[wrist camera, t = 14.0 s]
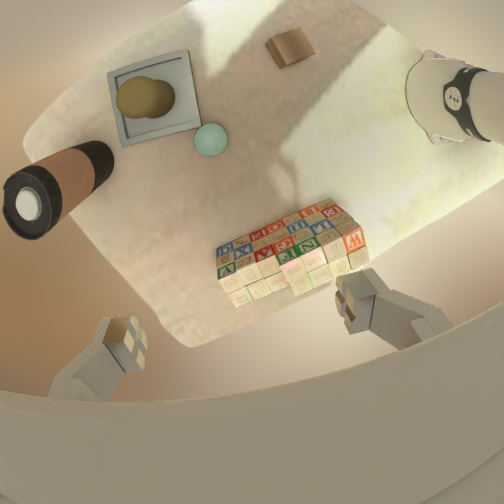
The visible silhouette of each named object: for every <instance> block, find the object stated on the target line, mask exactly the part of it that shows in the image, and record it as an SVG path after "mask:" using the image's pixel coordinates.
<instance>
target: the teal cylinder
mask: <svg viewBox="0 0 504 504" xmlns="http://www.w3.org/2000/svg"><path fill="white" fill-rule="evenodd" d="M194 145H195V148H196V150H197V151H198V152H199V153H200V154H202V155H204V156H208V157H212V156H216V155H218V154H220V153H222V152H223V150H224V149H225V148H226V145H227V135H226V132H225V130H224V129H223V128H222V127H221V126H220V125H218V124H216V123H207V124H205V125H203V126H202V127H201V128H200V129H199V130H198V131H197V132H196V134H195V136H194Z"/></svg>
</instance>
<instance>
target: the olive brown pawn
mask: <svg viewBox="0 0 504 504" xmlns="http://www.w3.org/2000/svg"><path fill="white" fill-rule="evenodd" d="M174 103H175V92H174V89H173V88H172V86H171V85H170V84H169V83H167V82H166V81H163V80H152V79H151V78H149V77H145V76H135V77H132V78H130V79H128V80H127V81H125V82H124V83H123V84H122V85H121V86H120V88H119V89H118V92H117V94H116V105H117V108H118V110H119V111H120V113H121V114H123V115H124V116H125V117H127V118H131V119H140V118H143V117H147V118H150V119H153V118H160V117H163V116H164V115H166V114H167V113H168V112H169V111H170V110H171V109H172V107H173V105H174Z"/></svg>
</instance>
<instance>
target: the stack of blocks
mask: <svg viewBox="0 0 504 504" xmlns="http://www.w3.org/2000/svg"><path fill="white" fill-rule="evenodd" d="M368 262H369V257H368V252H367V247H366V243H365V238H364V234H363V230H362V227H361V226H360V225H359V224H358V223H357V222H355V221H354V220H353V218H352V217H351V216H350V215H348V214H347V213H346V212H345V211H343V210H342V209H341V208H340V207H339V206H338V205H336V203H335V202H333V201H332V200H331V199H327V200H325V201H323V202H320V203H318V204H316V205H312V206H310V207H308V208H305V209H303V210H301V211H299V212H296V213H294V214H291V215H289V216H287V217H285V218H283V219H282V220H280V221H277V222H275V223H273V224H271V225H268V226H266V227H265V228H263V229H260V230H258V231H256V232H254V233H251V234H250V235H246V236H244V237H241V238H239V239H237V240H235V241H233V242H231V243H228V244H226V245H224V246H222V247H220V248H218V249H217V275H218V281H219V283H220V284H221V286H222V287H223V289H224V291H225V292H226V294H228V296H229V298H230V299H231V301H232V302H233V304H234V305H235V307H236V308H237V307H240V306H242V305H244V304H246V303H249V302H251V301H253V300H257V299H259V298H261V297H264V296H266V295H268V294H270V293H272V292H275V291H277V290H280V289H282V288H284V287H286V286H288V285H290V287H291V289H292V291H293V294H294V296H298V295H300V294H302V293H304V292H307V291H309V290H311V289H313V288H314V287H317V286H319V285H321V284H323V283H325V282H328V281H330V280H331V279H334V278H336V277H337V276H341V275H343V274H345V273H347V272H349V271H351V270H354V269H356V268H358V267H360V266H362V265H364V264H366V263H368Z"/></svg>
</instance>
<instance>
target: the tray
mask: <svg viewBox="0 0 504 504" xmlns="http://www.w3.org/2000/svg"><path fill="white" fill-rule="evenodd" d="M135 76H145V77H149V78H151V79H152V80H163V81H166V82H167V83H169V84H170V85H171V86H172V88H173V89H174V92H175V103H174V105H173V107H172V109H171V110H170V111H169V112H168V113H167V114H166V115H164V116H163V117H160V118H153V119H150V118H147V117H143V118H140V119H131V118H127V117H125V116H124V115H123V114H121V113H120V111H119V110H118V108H117V105H116V94H117V92H118V89H119V88H120V86H121V85H122V84H123V83H124V82H125V81H127V80H128V79H130V78H132V77H135ZM107 77H108V83H109V89H110V94H111V99H112V104H113V109H114V114H115V119H116V124H117V128H118V133H119V137H120V141H121V145H122V147H125V146H128V145H132V144H135V143H138V142H142V141H145V140H149V139H152V138H156V137H160V136H164V135H168V134H172V133H176V132H180V131H184V130H189V129H193V128H198V127H201V126H202V123H201V118H200V113H199V107H198V102H197V97H196V91H195V86H194V80H193V74H192V69H191V63H190V57H189V51H188V50H187V49H185V50H181V51H177V52H173V53H169V54H165V55H161V56H157V57H154V58H150V59H147V60H144V61H140V62H137V63H134V64H131V65H128V66H125V67H122V68H120V69H117V70H114V71H111V72H109V73H107Z"/></svg>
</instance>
